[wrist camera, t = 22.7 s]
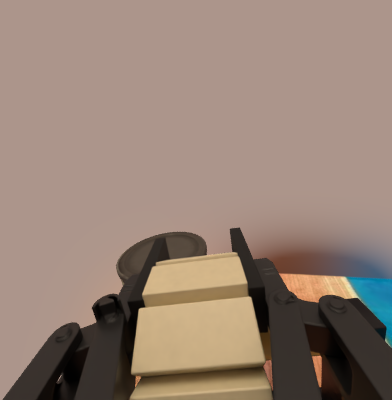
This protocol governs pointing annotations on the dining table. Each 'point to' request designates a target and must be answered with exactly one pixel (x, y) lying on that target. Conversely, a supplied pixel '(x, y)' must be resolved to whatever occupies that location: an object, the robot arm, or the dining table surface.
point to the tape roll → (199, 333)
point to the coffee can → (177, 248)
